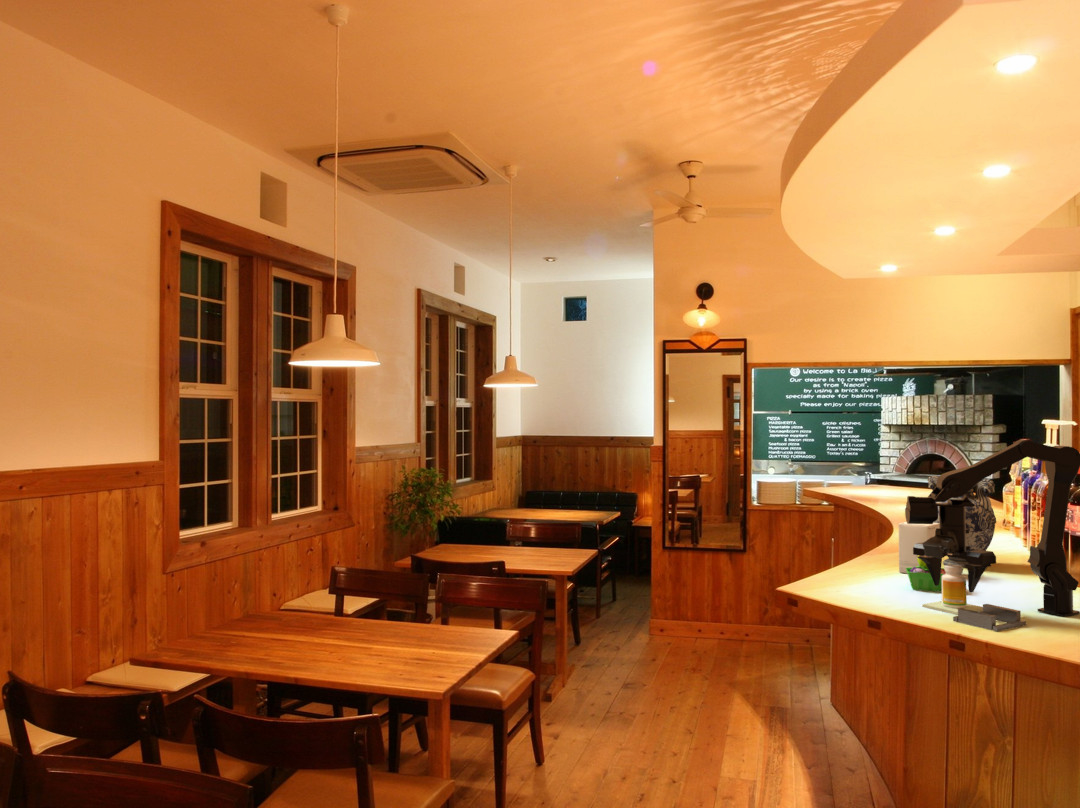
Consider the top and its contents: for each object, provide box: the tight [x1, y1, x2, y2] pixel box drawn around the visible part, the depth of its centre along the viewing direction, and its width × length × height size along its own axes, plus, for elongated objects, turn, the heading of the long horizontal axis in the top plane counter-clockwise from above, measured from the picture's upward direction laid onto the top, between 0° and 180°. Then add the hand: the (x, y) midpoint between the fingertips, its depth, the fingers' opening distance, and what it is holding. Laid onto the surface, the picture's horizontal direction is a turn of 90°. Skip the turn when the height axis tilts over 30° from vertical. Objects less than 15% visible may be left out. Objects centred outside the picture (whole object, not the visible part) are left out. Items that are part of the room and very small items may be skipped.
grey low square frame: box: [952, 603, 1027, 632], centre depth 185 cm, size 10×10×3 cm
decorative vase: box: [927, 475, 997, 569], centre depth 256 cm, size 21×19×28 cm
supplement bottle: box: [941, 565, 968, 608], centre depth 199 cm, size 5×5×10 cm
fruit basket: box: [906, 555, 946, 592], centre depth 222 cm, size 11×9×11 cm
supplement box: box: [898, 521, 940, 575], centre depth 244 cm, size 9×9×15 cm
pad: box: [921, 600, 983, 616], centre depth 199 cm, size 10×10×1 cm
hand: (953, 588), depth 199 cm, fingers open, 9 cm apart
